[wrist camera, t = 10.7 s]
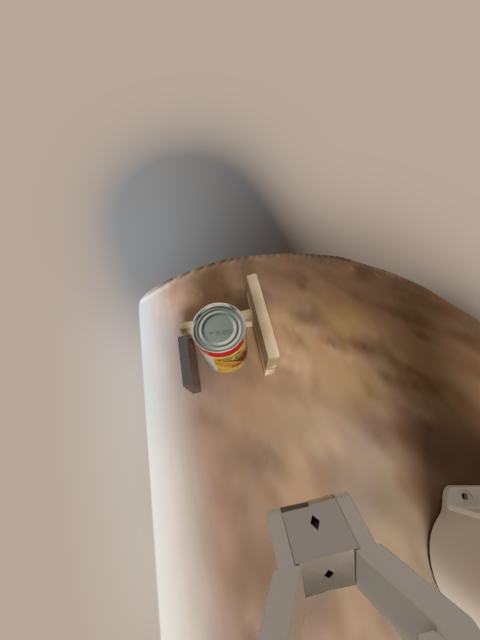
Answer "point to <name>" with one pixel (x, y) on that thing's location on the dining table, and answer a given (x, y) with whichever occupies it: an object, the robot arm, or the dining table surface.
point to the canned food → (221, 336)
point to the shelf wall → (254, 326)
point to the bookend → (189, 365)
